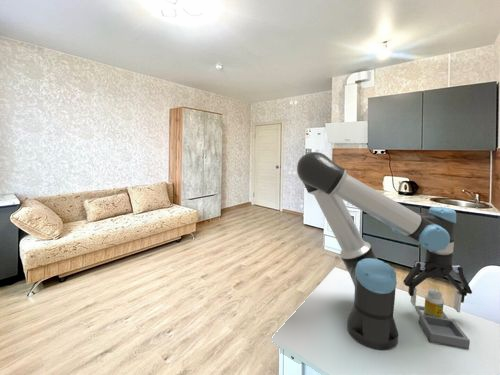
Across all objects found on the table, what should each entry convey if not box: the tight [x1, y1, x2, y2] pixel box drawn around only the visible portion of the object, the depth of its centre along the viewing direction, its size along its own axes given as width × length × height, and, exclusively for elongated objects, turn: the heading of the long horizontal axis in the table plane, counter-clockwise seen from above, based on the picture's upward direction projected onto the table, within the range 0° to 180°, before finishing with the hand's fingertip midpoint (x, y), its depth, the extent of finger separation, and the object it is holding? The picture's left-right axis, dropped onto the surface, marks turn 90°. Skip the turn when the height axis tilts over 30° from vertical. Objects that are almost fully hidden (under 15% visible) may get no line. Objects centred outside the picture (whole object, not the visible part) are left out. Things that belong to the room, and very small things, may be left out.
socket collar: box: [414, 304, 450, 319], centre depth 90 cm, size 9×9×1 cm
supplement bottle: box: [423, 288, 445, 318], centre depth 89 cm, size 5×5×10 cm
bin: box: [418, 314, 471, 350], centre depth 80 cm, size 10×10×3 cm
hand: (434, 306), depth 89 cm, fingers open, 13 cm apart
